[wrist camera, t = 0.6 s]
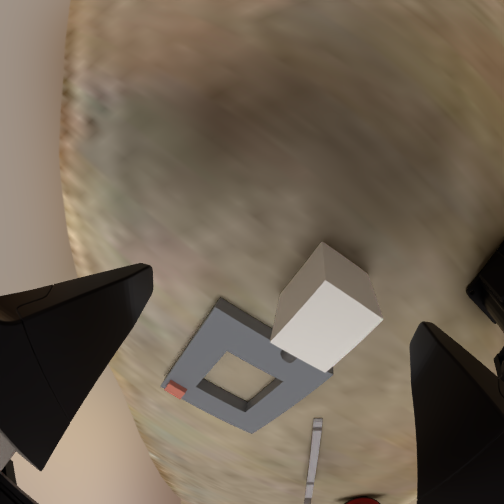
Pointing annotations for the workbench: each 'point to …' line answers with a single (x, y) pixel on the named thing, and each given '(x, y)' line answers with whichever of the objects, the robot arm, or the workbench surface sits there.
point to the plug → (325, 310)
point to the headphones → (362, 501)
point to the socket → (250, 350)
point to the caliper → (313, 459)
